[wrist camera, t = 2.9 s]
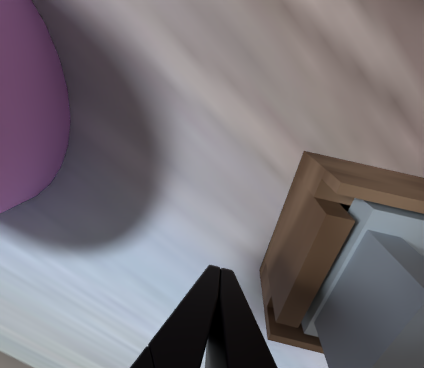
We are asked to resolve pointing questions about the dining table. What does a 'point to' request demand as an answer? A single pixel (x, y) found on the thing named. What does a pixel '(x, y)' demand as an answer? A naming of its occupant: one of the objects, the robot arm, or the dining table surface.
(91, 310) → the dining table surface
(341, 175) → the case
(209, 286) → the robot arm
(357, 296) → the lid
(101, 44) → the dining table surface
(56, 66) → the container set
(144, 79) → the dining table surface
